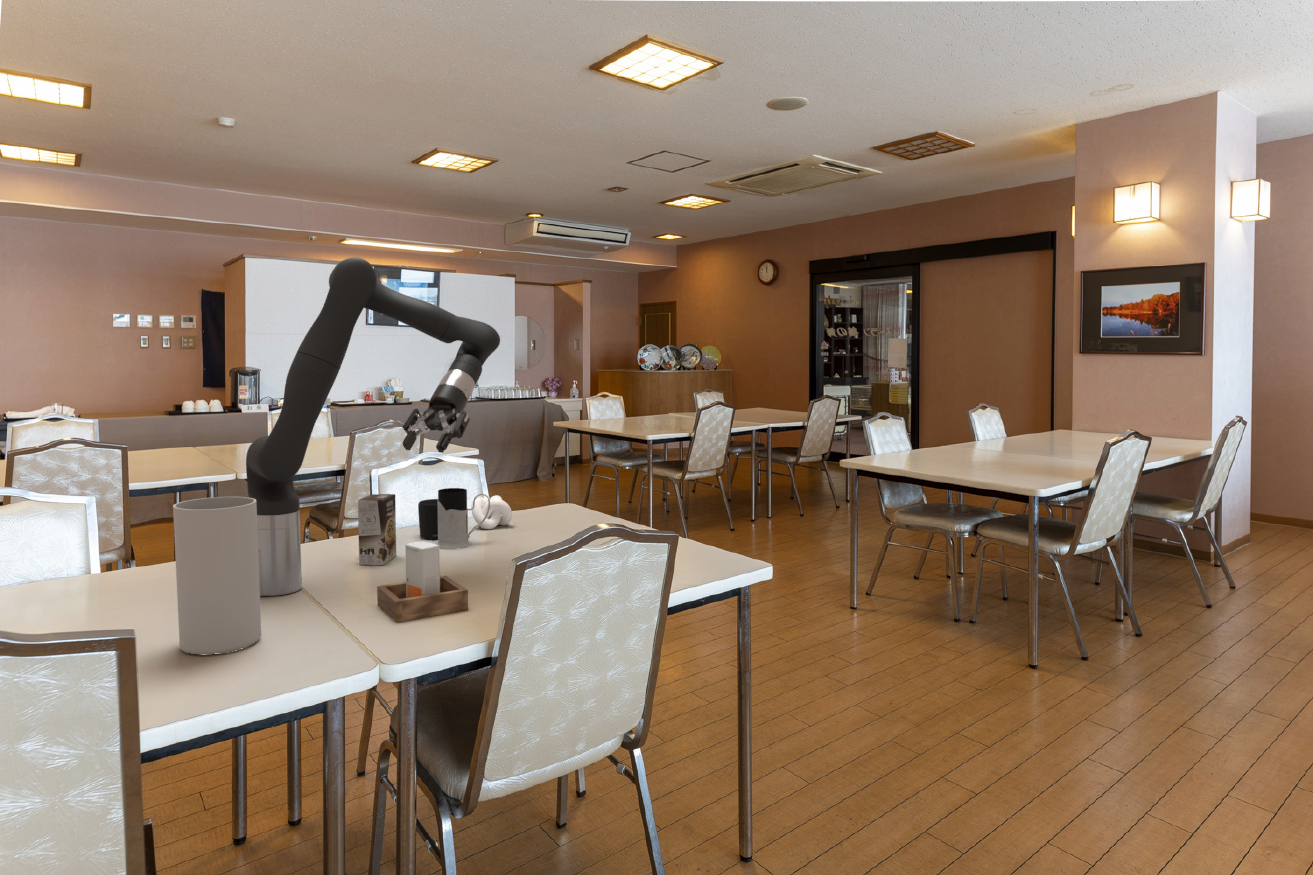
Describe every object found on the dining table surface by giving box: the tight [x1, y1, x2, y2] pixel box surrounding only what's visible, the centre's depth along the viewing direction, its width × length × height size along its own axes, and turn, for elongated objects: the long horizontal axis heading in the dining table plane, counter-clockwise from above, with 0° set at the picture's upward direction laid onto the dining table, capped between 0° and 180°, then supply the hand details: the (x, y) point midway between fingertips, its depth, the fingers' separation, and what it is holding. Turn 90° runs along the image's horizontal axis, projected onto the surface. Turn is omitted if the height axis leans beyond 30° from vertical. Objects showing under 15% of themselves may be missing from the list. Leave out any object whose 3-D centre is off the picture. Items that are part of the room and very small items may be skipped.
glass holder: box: [436, 487, 490, 550], centre depth 212 cm, size 9×14×15 cm, turn 107°
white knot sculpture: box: [470, 494, 513, 530], centre depth 236 cm, size 11×12×9 cm
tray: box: [376, 575, 469, 623], centre depth 159 cm, size 14×12×4 cm
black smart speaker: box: [417, 498, 438, 541], centre depth 222 cm, size 9×9×10 cm
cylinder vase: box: [172, 496, 262, 655], centre depth 137 cm, size 12×12×25 cm
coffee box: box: [357, 493, 397, 566], centre depth 195 cm, size 9×6×16 cm
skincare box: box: [405, 540, 441, 598], centre depth 159 cm, size 6×4×12 cm
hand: (422, 449), depth 170 cm, fingers open, 8 cm apart
